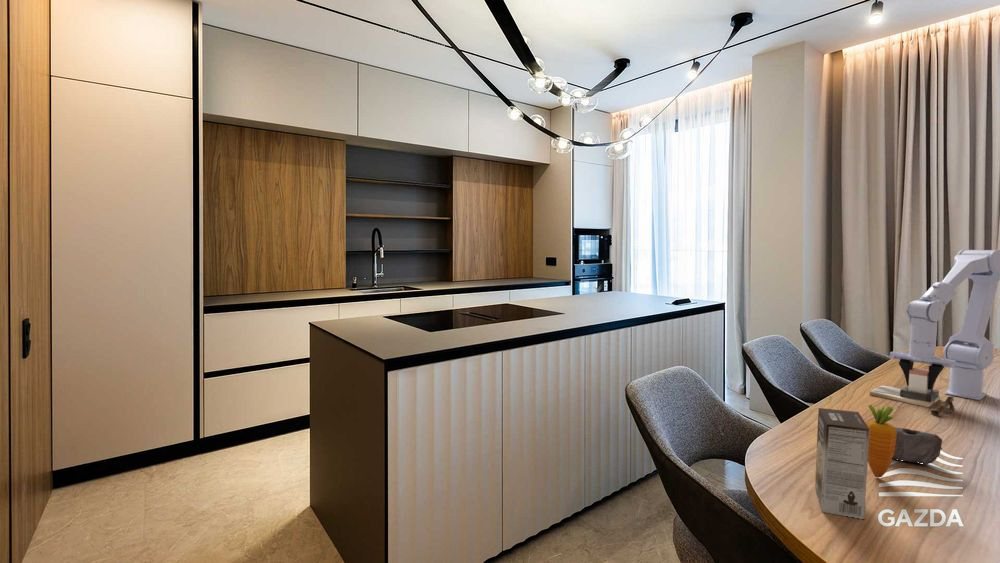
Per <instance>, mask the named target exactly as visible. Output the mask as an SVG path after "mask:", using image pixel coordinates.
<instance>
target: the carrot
mask: <svg viewBox="0 0 1000 563" xmlns="http://www.w3.org/2000/svg"><path fill="white" fill-rule="evenodd" d="M867 407H868V408H869V409H870V411H871V414H872V416H873V418H874V419H873V420H870V421H867V422H865V423H866V425H867V426H868V427H869V429H870V433H869V449H868V466H869V468H870V470H871V472H872V474H873V476H874V477H875V478H876V477H881V478H882V477H883V476H884V475H885V474H886V473H887V471H888V469H889V468H890V466H891V464H892V462H893V459H892V458H893V455H894V452H895V445H896V435H897V431H896V428H895V427H896V426H893V424H891V423H889V422H888V421H891V420H892V419H894V416H893V415H891V414H892V412H893V411H894V410H895V409H894V407H892V406H891V405H888V406H887V407H884V406H881V407H880V408H879V409H878V410H877V411H876V409H875V407H874V406H873V404H868V405H867Z"/></svg>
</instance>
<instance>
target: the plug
mask: <svg viewBox="0 0 1000 563" xmlns="http://www.w3.org/2000/svg"><path fill="white" fill-rule="evenodd" d="M928 383H929V368H928V369H927V368H920V367H913V369H911V370H910V371H909V387H908V391H913V392H918V393H924V394H929V393H930V392H931V390H928Z"/></svg>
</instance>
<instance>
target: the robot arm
mask: <svg viewBox="0 0 1000 563" xmlns="http://www.w3.org/2000/svg"><path fill="white" fill-rule="evenodd" d="M953 258H954V260H953V263H954V264H953V266H952V268H951V269H950V270H949V272H947V274H946V276H945V277H944V278H943V280H942V281H938V282H934V283H933V284H932V285H931V286H930V287H929V288H928V290H926V291H925V293H923V295H922V296H920V298H919V299H914V300H913V301H911V302H910V303H908V306H907V307H906V309H905V313H906V315H907V318H908V323H909V325H910V332H909V334H910V335H909V350H908V352H897V351H890V352H889V359H890V360H899V361H898V365H899V367H900V368H901V371H902V372H903V375H904V378H905V381H906V382H905V383H906V386H909V371H910V370H911V369H913V368H914V363H918V364H919V363H920V364H926V365H929V366H928V370H929V383H928V390H932V389H933V390H934V386H935V383H936V381H937V379H938V377H939V375H940V374H941V372H942V371H943V370H944V369H945V368H949V369H950V371H949V372H950V373H949V385H948V389H947V390H946V391H944V394H945V395H949V396H953V397H955V396H956V397H959V398H960V397H961V398H966V399H970V400H971V399H972V400H976V401H981V400H982V399H984V397H986V396H987V392H984V391H983V388H984V387H983V386H984V369H985V370H986V369H987V368H989V367H990V366H991V365H992V363H993V362H994V346H995V345H994V344H993V343H992V342H991V341H990V340H988V339H987V338H986V337H985V334H986V332H987V327H988V324H989V319H990V316H991V312H992V309H993V304H994V302H995V301H994V300H995V298H996V294H997V291H998V287H999V283H1000V249H995V250H994V249H985V250H984V249H960V250H959V251H958V252H957V254H956V255H955V256H954V257H953ZM968 278H969V279H970V280H972V281H973V286H972V289H971V291H970V296H969V300H968V304H967V307H966V311H965V315H964V318H963V321H962V322H963V323H962V324H961V325H962V327H961V329H960V332H958V333H956V334H952V335H951V336H950V337H949V340H948V342H947V343H946V345H945V346H944V347H943V357H944V358H943V357H938V356H936V344H937V343H936V341H937V330H938V321H940V320H941V319H943V317H944V312H945V310H946V307H947V305H948V304H949V303H950V301H951V300H952V299H953V298H954V297H955V296H956V295H957V290H956V289H957V287H959V286H960V285H961V284H962V283H963V282H964V281H966V279H968Z"/></svg>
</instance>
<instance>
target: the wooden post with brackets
mask: <svg viewBox="0 0 1000 563" xmlns="http://www.w3.org/2000/svg"><path fill="white" fill-rule="evenodd" d="M954 401H955V398H954V396H948V397H947V398H946V399H945V401H943V402H941V403H940V404H939V406H938V407H936V408H930V410H929V411H930V412H931V415H934V416H937V417H941V412H942V411H943V414H945V415H946V414H948V415H950V413H952V412H955V406H954V403H953V402H954ZM947 407H948V408H947Z"/></svg>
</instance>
